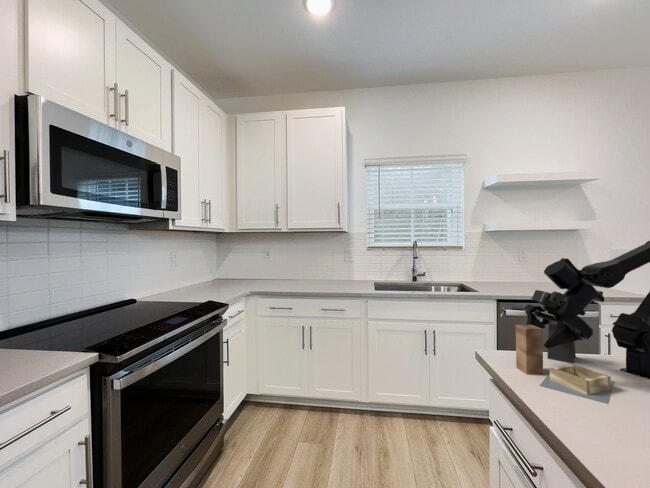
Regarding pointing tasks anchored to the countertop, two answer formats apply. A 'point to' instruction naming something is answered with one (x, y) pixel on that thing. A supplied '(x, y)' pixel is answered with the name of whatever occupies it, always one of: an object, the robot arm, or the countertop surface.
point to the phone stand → (561, 348)
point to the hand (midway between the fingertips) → (533, 341)
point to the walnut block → (529, 349)
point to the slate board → (597, 396)
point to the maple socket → (580, 379)
